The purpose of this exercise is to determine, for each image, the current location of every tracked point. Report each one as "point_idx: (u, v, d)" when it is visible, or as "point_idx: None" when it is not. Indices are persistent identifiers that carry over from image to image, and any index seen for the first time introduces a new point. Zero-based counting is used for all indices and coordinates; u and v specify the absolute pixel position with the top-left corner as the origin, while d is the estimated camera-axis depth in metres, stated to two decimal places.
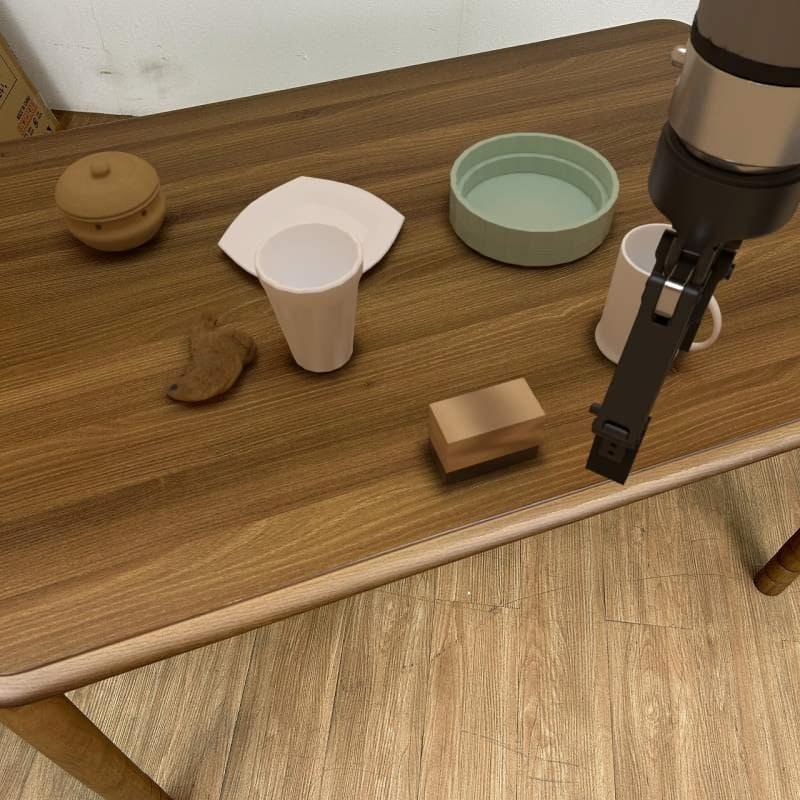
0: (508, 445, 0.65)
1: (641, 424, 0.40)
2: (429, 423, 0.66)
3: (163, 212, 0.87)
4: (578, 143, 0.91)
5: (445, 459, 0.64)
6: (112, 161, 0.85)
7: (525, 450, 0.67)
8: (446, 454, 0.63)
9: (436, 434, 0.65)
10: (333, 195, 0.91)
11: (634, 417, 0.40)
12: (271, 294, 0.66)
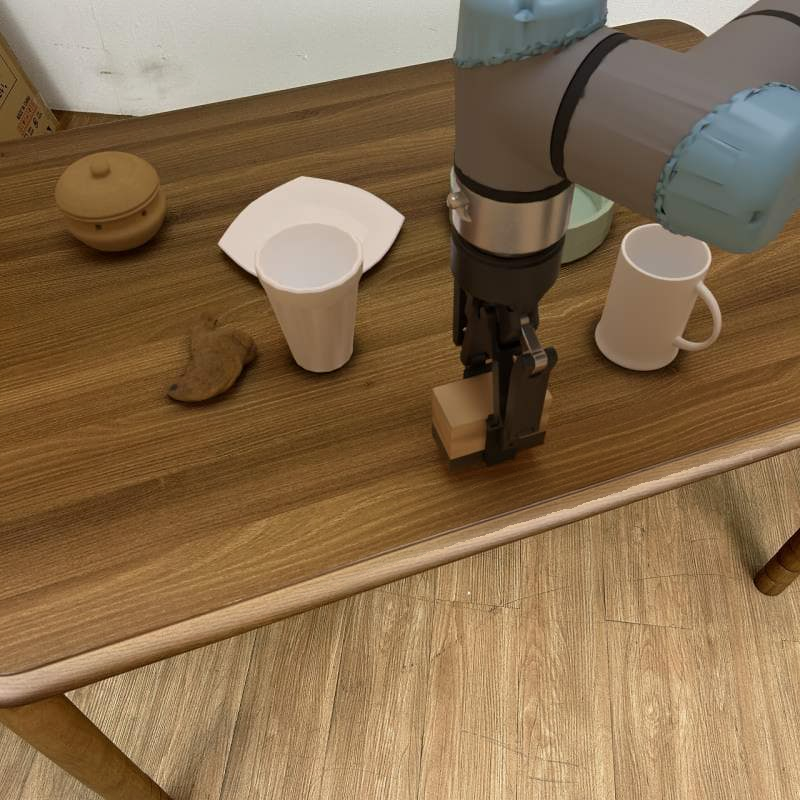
0: None
1: (539, 420, 0.56)
2: (432, 408, 0.64)
3: (163, 212, 0.87)
4: None
5: (449, 445, 0.62)
6: (112, 161, 0.85)
7: (532, 436, 0.65)
8: (450, 439, 0.61)
9: (440, 419, 0.63)
10: (333, 195, 0.91)
11: (534, 420, 0.56)
12: (271, 294, 0.66)
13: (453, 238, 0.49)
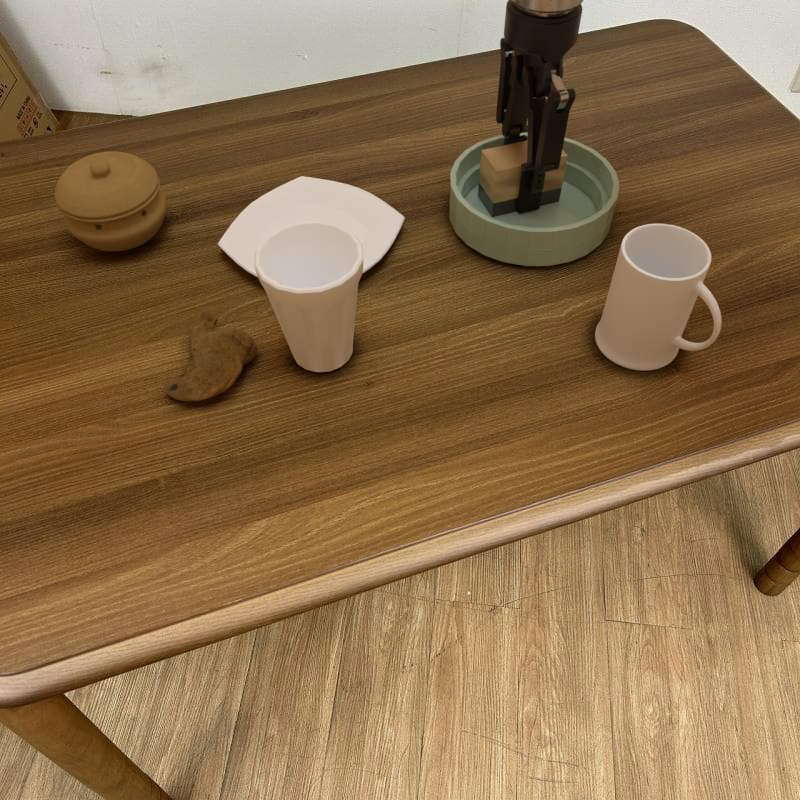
0: None
1: (560, 157, 0.81)
2: (480, 169, 0.89)
3: (163, 212, 0.87)
4: (578, 143, 0.91)
5: (493, 190, 0.87)
6: (112, 161, 0.85)
7: (551, 191, 0.90)
8: (494, 183, 0.86)
9: (486, 173, 0.88)
10: (333, 195, 0.91)
11: (556, 156, 0.81)
12: (271, 294, 0.66)
13: (508, 9, 0.74)
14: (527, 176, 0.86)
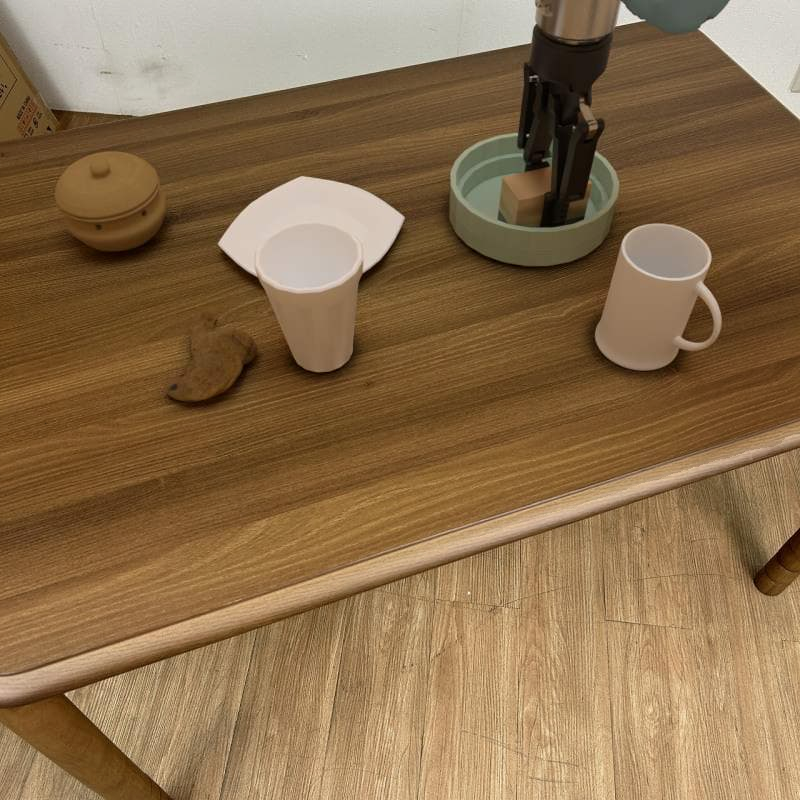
0: None
1: (586, 187, 0.78)
2: (500, 196, 0.86)
3: (163, 212, 0.87)
4: None
5: (514, 219, 0.84)
6: (112, 161, 0.85)
7: (574, 219, 0.86)
8: (516, 212, 0.83)
9: (507, 201, 0.84)
10: (333, 195, 0.91)
11: (582, 186, 0.78)
12: (271, 294, 0.66)
13: (535, 36, 0.70)
14: (550, 205, 0.82)
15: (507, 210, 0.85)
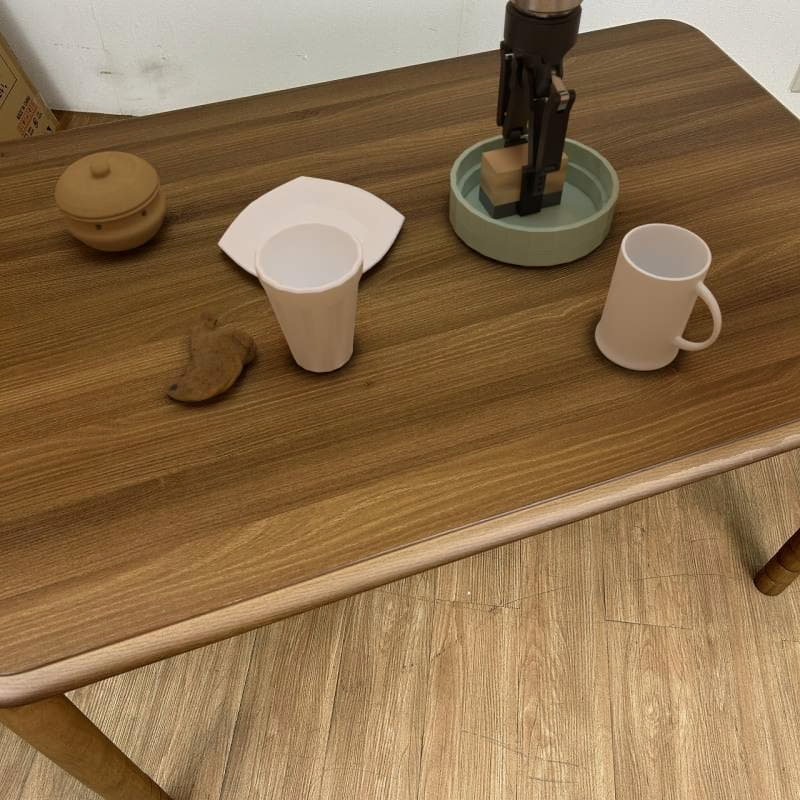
0: None
1: (561, 159, 0.81)
2: (481, 172, 0.89)
3: (163, 212, 0.87)
4: (578, 143, 0.91)
5: (494, 192, 0.87)
6: (112, 161, 0.85)
7: (552, 194, 0.89)
8: (495, 186, 0.86)
9: (487, 176, 0.87)
10: (333, 195, 0.91)
11: (557, 158, 0.81)
12: (271, 294, 0.66)
13: (507, 11, 0.74)
14: (528, 178, 0.85)
15: (487, 185, 0.88)
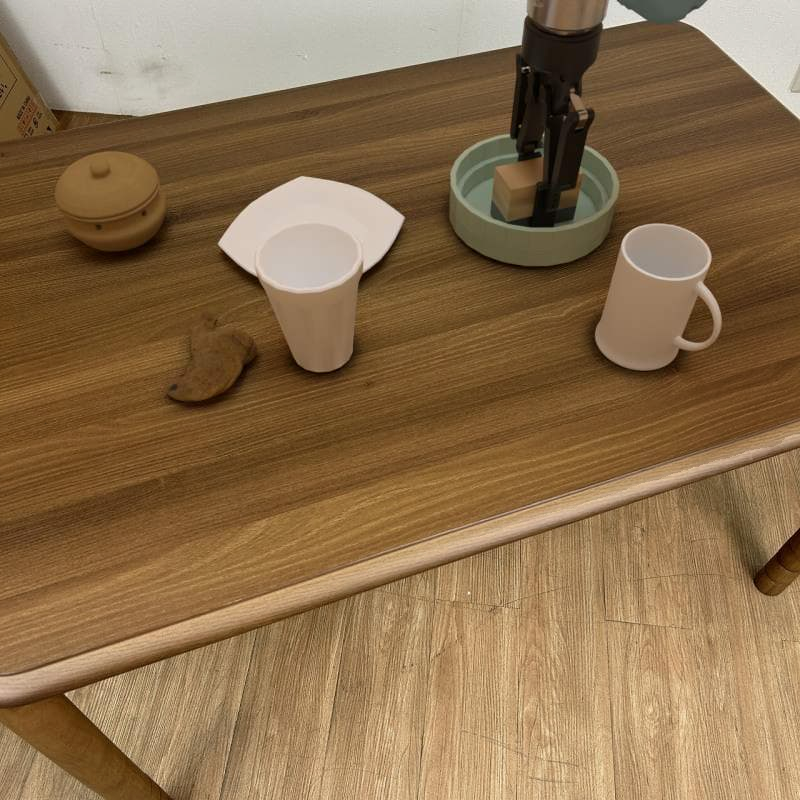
0: None
1: (577, 177, 0.79)
2: (493, 186, 0.87)
3: (163, 212, 0.87)
4: None
5: (507, 208, 0.85)
6: (112, 161, 0.85)
7: (566, 209, 0.88)
8: (508, 202, 0.84)
9: (500, 191, 0.85)
10: (333, 195, 0.91)
11: (573, 176, 0.79)
12: (271, 294, 0.66)
13: (526, 26, 0.71)
14: (542, 195, 0.83)
15: (500, 200, 0.86)
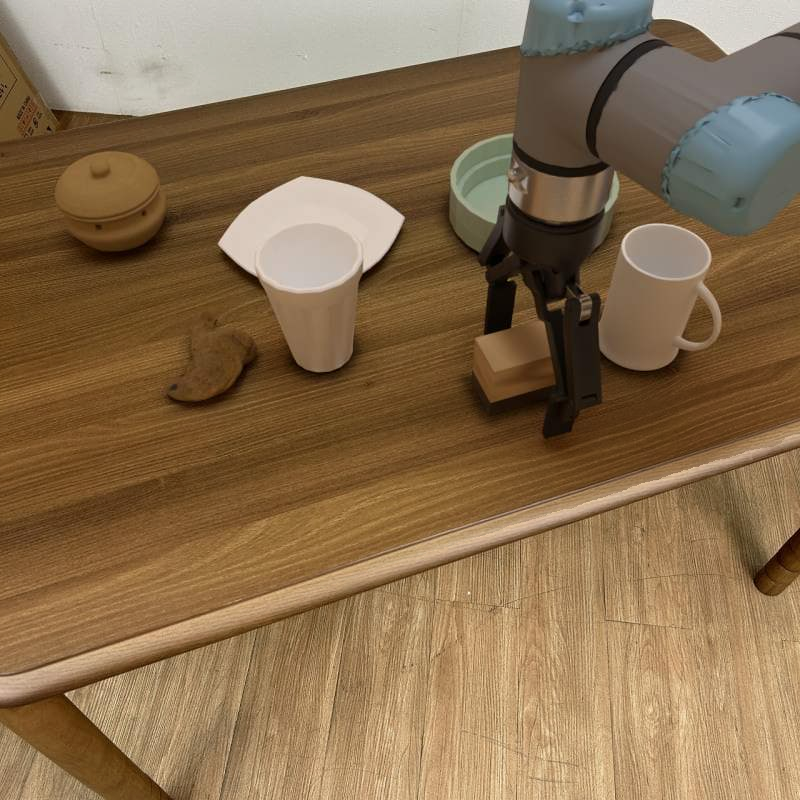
0: (548, 377, 0.70)
1: (600, 386, 0.60)
2: (474, 357, 0.71)
3: (163, 212, 0.87)
4: None
5: (490, 389, 0.69)
6: (112, 161, 0.85)
7: None
8: (491, 383, 0.68)
9: (481, 366, 0.70)
10: (333, 195, 0.91)
11: (595, 385, 0.60)
12: (271, 294, 0.66)
13: (508, 209, 0.56)
14: (557, 403, 0.64)
15: (482, 375, 0.70)
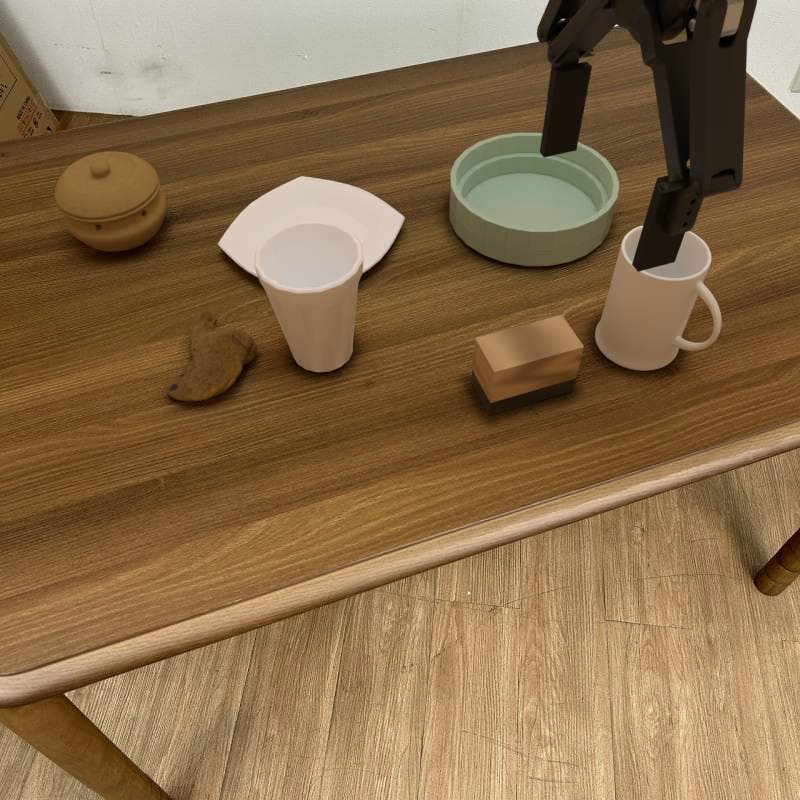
0: (548, 377, 0.70)
1: (742, 156, 0.39)
2: (474, 357, 0.71)
3: (163, 212, 0.87)
4: (578, 143, 0.91)
5: (490, 389, 0.69)
6: (112, 161, 0.85)
7: (563, 383, 0.72)
8: (491, 383, 0.68)
9: (481, 366, 0.70)
10: (333, 195, 0.91)
11: (734, 153, 0.39)
12: (271, 294, 0.66)
13: None
14: (664, 203, 0.44)
15: (482, 375, 0.70)
